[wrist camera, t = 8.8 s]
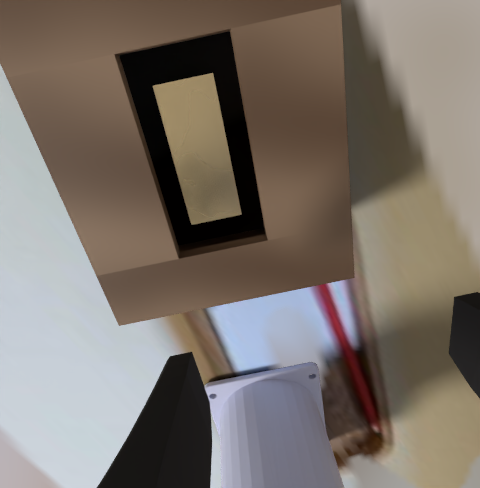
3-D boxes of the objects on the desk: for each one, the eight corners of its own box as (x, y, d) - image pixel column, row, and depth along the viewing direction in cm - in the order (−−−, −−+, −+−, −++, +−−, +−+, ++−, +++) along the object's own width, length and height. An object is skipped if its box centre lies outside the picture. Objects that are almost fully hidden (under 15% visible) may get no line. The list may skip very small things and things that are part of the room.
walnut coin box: (317, 225, 19) (354, 277, 14) (143, 261, 19) (119, 325, 14) (290, -43, 14) (335, -112, 9) (50, 11, 14) (-41, -27, 9)
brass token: (234, 179, 18) (241, 214, 13) (196, 187, 18) (191, 225, 13) (212, 74, 15) (213, 72, 11) (169, 83, 15) (152, 85, 11)
